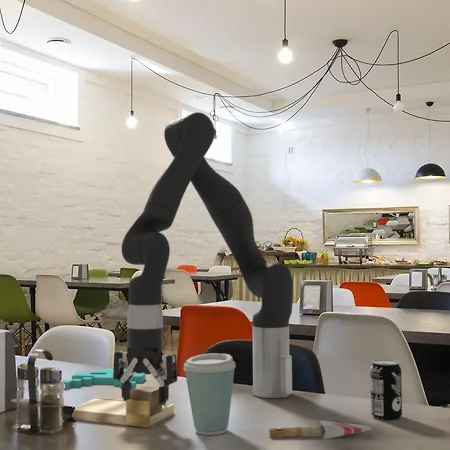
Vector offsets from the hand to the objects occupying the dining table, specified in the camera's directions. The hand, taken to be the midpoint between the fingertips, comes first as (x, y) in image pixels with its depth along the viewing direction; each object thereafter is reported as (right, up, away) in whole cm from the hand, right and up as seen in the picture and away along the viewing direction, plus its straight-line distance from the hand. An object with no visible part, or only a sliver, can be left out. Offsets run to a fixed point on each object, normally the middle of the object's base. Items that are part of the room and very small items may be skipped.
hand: (144, 401), depth 136 cm
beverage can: (+52, -4, +3) cm, 53 cm away
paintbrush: (+36, -4, -10) cm, 37 cm away
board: (-6, -5, +6) cm, 10 cm away
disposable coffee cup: (+14, -4, -6) cm, 16 cm away
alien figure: (-16, -7, +43) cm, 46 cm away
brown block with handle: (+1, -4, +2) cm, 5 cm away
